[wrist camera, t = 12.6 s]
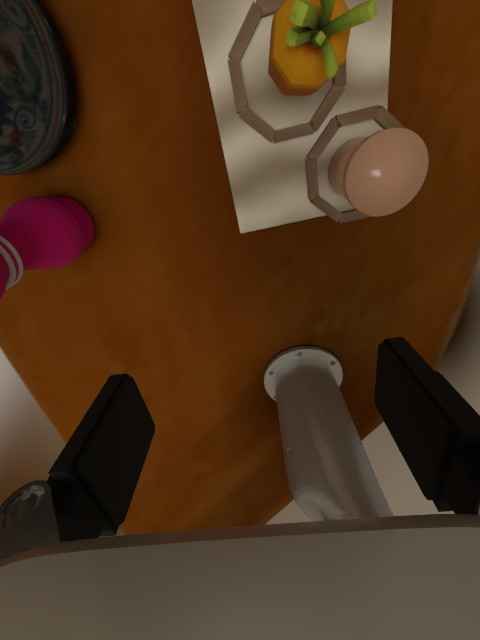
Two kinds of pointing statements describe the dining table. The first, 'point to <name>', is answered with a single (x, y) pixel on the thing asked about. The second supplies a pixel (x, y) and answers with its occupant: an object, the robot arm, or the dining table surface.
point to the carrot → (312, 42)
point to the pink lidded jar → (379, 170)
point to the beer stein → (33, 88)
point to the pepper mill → (41, 236)
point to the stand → (289, 112)
